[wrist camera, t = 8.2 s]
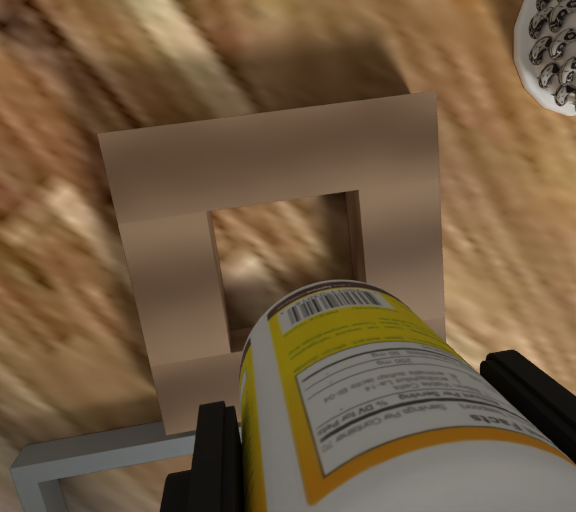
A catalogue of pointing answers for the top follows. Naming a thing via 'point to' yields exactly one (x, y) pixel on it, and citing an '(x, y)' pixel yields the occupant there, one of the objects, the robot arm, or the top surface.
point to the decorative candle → (547, 53)
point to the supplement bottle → (381, 416)
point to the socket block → (263, 189)
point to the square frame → (90, 459)
